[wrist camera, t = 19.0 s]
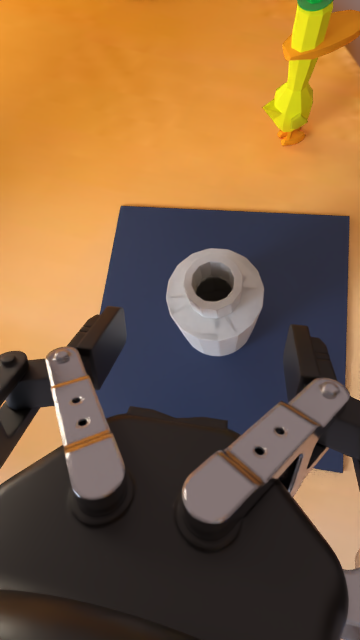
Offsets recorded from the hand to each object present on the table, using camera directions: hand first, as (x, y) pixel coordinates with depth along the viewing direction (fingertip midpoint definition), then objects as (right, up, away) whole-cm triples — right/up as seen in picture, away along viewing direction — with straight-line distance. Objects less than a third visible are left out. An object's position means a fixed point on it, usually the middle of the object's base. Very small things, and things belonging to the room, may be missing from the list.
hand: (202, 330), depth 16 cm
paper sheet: (+2, 0, +11) cm, 11 cm away
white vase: (+2, 0, +11) cm, 11 cm away
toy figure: (+9, +17, +14) cm, 24 cm away
